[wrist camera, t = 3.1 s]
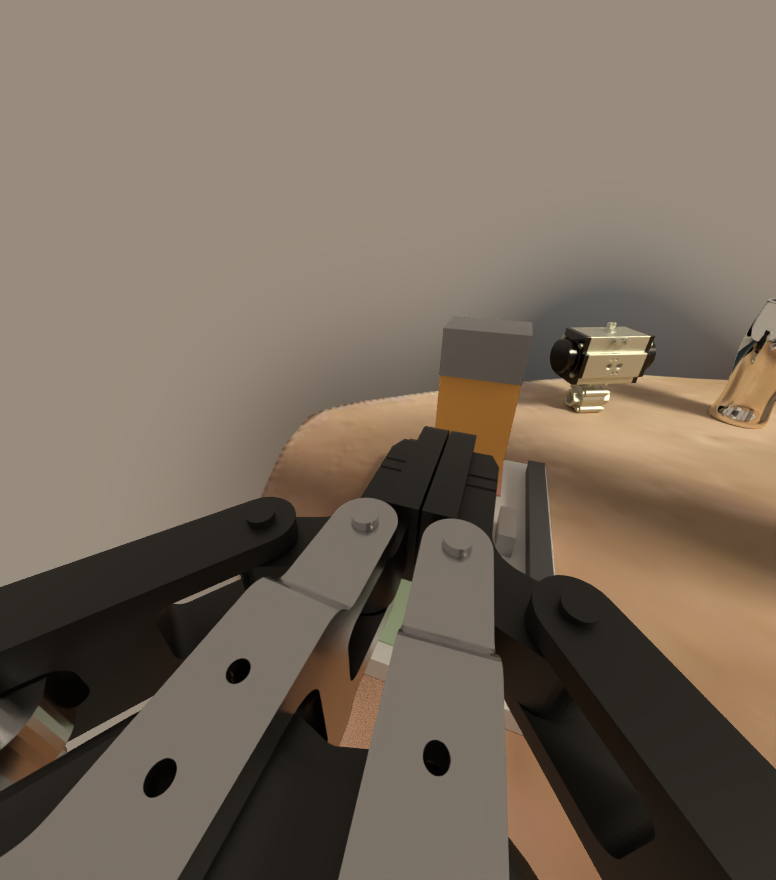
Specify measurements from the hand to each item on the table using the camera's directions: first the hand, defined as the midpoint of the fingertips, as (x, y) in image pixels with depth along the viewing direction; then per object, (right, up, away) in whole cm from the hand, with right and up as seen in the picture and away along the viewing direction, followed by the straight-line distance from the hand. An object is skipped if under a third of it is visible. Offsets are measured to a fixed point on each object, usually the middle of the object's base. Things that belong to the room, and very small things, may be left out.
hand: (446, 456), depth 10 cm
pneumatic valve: (+26, +5, +39) cm, 47 cm away
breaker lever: (+4, -6, +16) cm, 17 cm away
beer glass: (+46, +3, +37) cm, 59 cm away
